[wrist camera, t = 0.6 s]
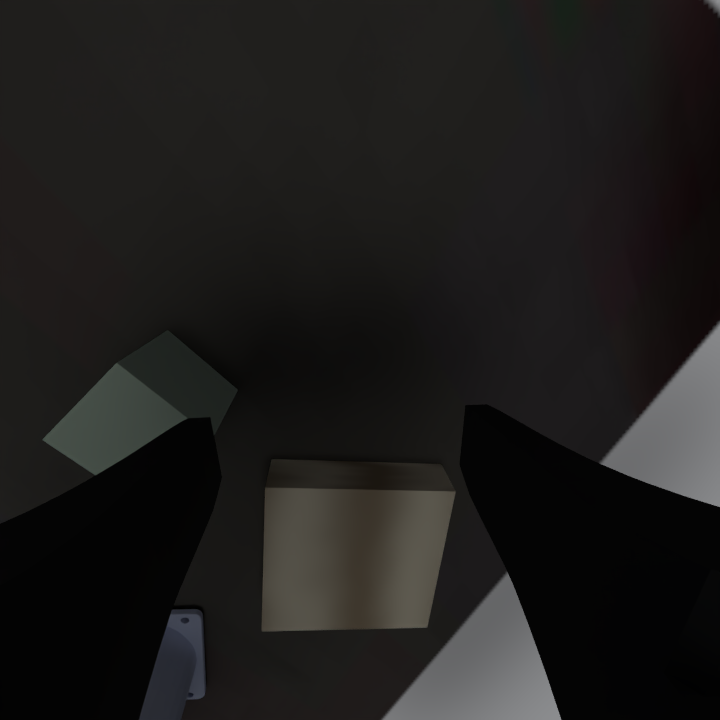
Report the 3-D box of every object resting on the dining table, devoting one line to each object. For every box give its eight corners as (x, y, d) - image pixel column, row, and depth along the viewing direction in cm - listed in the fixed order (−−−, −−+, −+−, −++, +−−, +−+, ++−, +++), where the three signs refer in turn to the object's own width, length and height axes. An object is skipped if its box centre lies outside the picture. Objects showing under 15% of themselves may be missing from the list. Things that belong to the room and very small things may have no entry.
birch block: (268, 586, 25) (261, 631, 22) (272, 454, 22) (265, 487, 19) (415, 584, 26) (427, 627, 23) (439, 459, 23) (455, 491, 20)
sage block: (181, 442, 21) (140, 505, 16) (110, 389, 19) (42, 439, 15) (238, 389, 20) (213, 437, 15) (168, 329, 19) (116, 362, 14)
